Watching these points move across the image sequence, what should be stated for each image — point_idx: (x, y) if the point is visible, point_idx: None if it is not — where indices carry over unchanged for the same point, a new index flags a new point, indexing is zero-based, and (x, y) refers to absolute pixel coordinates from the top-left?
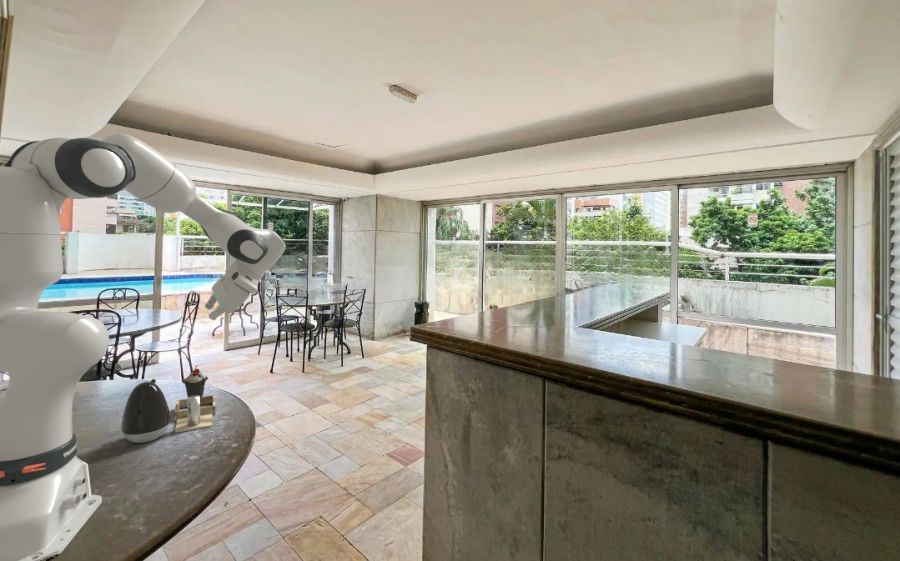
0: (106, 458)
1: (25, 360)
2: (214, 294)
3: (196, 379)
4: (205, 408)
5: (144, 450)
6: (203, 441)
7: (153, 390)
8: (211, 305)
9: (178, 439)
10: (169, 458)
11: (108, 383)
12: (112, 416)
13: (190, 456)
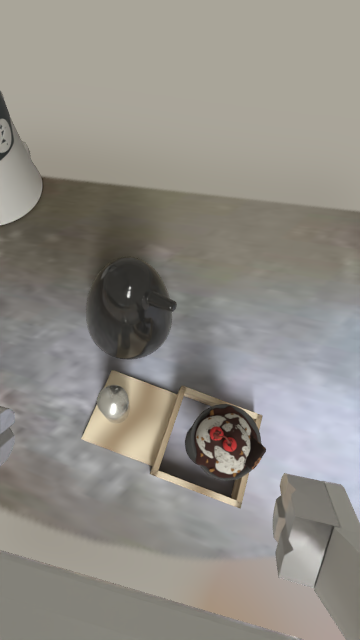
0: (99, 269)
1: None
2: (219, 620)
3: (200, 434)
4: (159, 451)
5: (79, 313)
6: (22, 398)
7: (100, 290)
8: (280, 543)
9: (76, 367)
10: (7, 331)
11: None
12: (290, 314)
13: None
